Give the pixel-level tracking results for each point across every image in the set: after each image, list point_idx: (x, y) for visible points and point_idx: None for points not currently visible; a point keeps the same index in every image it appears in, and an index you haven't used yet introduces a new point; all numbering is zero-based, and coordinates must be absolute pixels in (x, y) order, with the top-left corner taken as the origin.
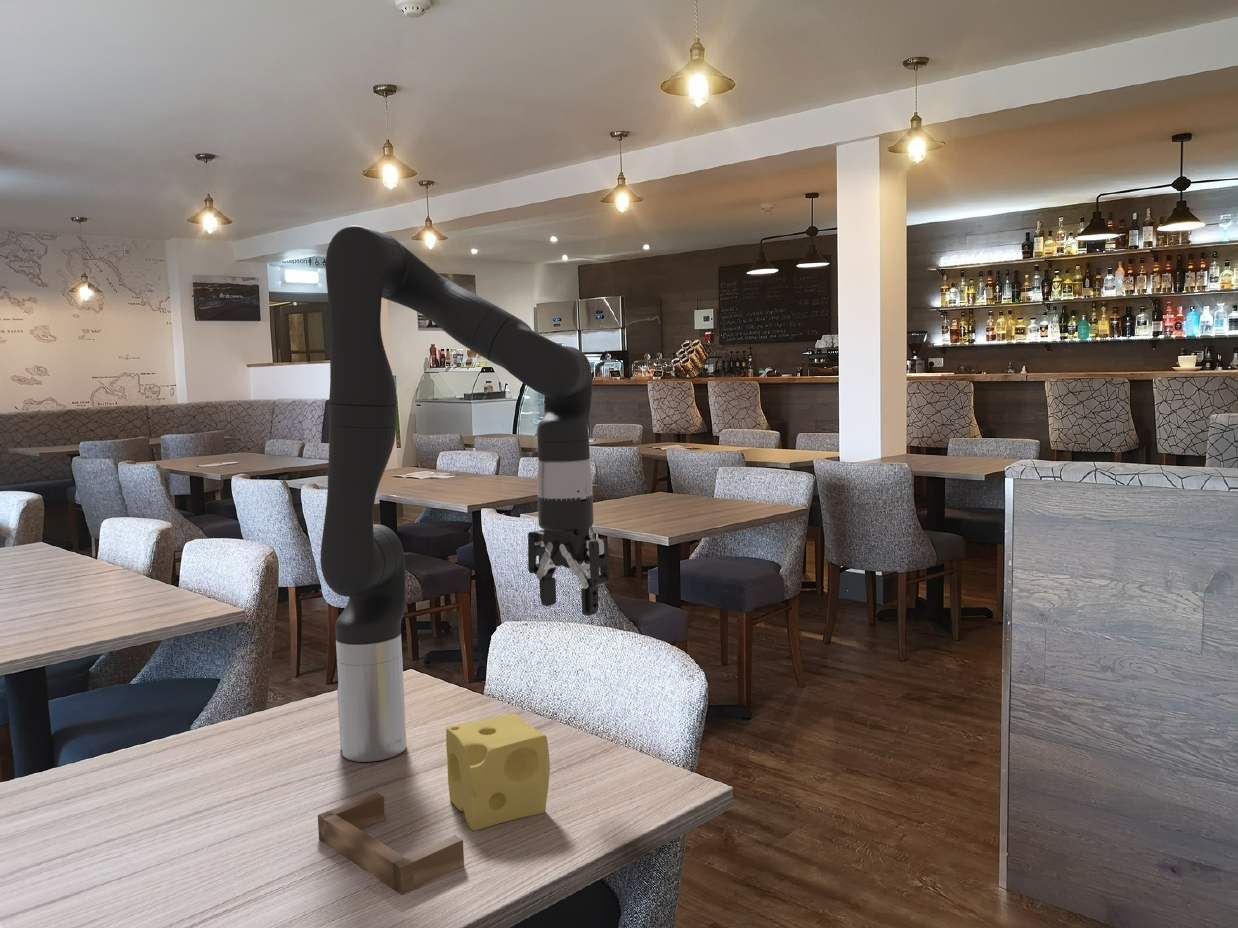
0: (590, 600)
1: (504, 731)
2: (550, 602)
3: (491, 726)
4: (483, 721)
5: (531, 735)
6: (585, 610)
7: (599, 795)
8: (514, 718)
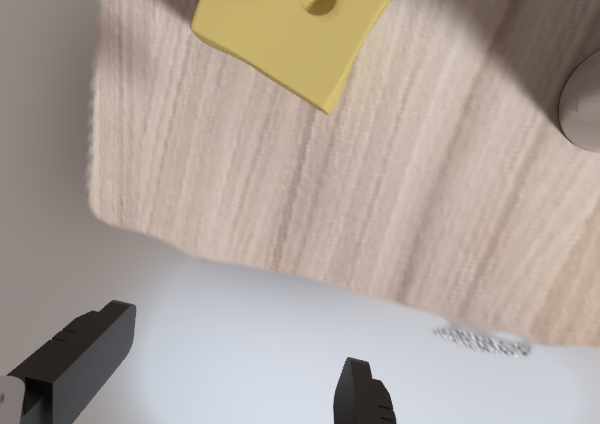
0: (50, 341)
1: (280, 6)
2: (340, 383)
3: (325, 20)
4: (356, 34)
5: (211, 8)
6: (103, 308)
7: (204, 132)
8: (308, 82)
